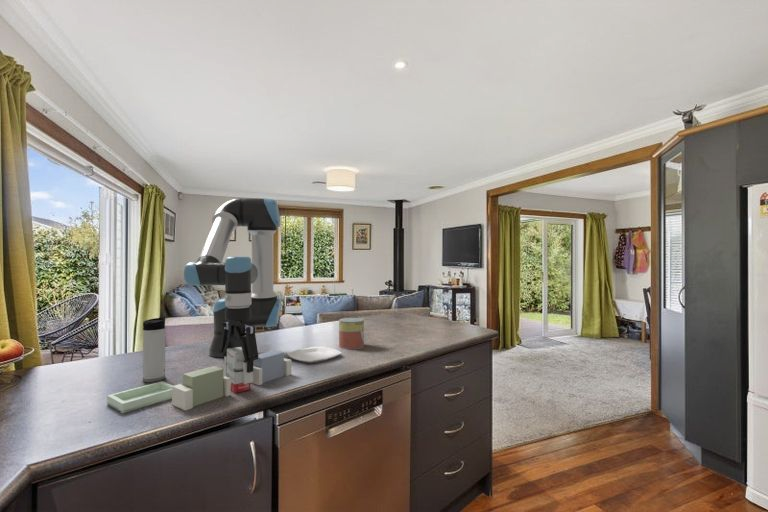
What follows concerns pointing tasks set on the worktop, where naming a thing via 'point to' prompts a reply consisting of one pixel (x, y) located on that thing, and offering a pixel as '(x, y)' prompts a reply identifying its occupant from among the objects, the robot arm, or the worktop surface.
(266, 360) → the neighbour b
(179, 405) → the holder
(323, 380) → the worktop surface
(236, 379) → the ink box
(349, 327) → the canned food
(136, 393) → the tray
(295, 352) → the plate
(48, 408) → the worktop surface
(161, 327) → the travel mug
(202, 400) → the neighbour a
